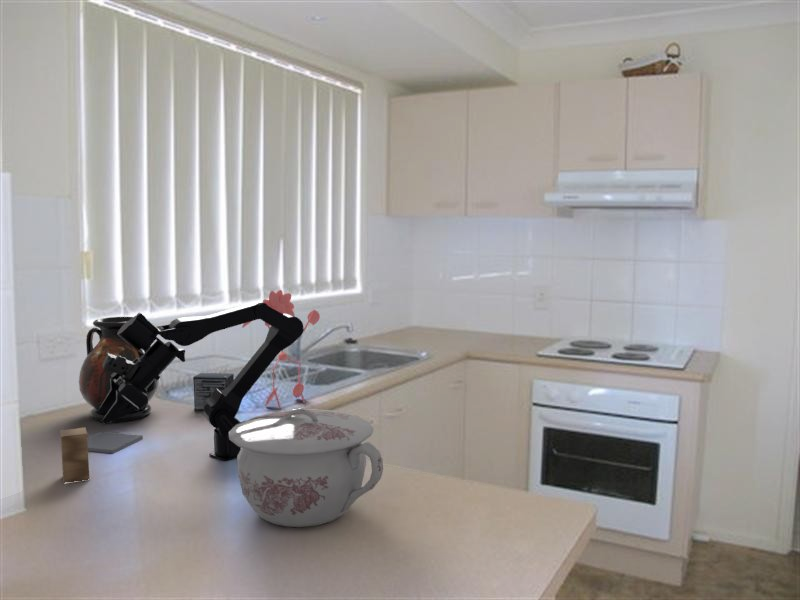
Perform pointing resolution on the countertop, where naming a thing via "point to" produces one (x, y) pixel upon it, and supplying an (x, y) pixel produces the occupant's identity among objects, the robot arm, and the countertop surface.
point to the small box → (209, 386)
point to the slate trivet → (111, 442)
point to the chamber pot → (304, 464)
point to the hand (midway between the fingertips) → (101, 417)
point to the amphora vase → (98, 380)
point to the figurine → (284, 307)
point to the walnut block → (74, 454)
